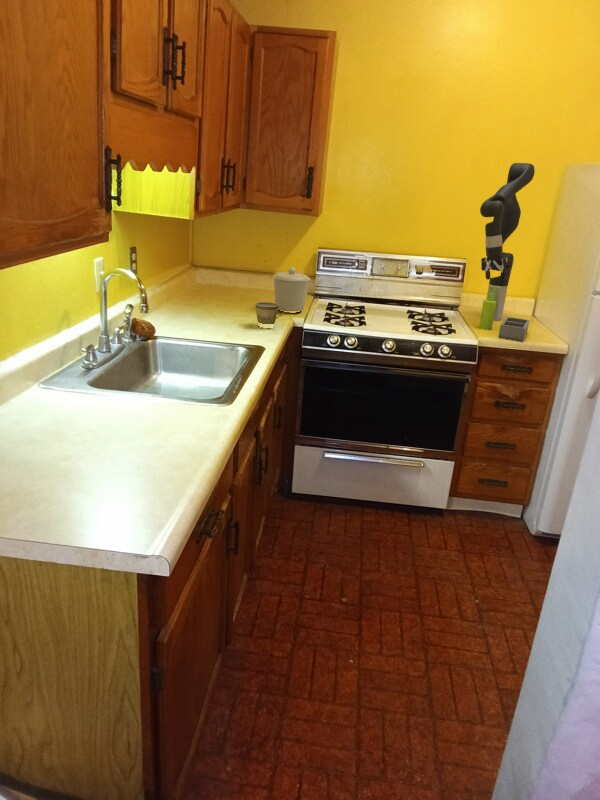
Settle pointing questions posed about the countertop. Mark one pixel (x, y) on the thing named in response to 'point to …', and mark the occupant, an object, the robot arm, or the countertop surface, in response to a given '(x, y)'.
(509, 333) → the caddy
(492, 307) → the soap dispenser
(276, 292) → the canister
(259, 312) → the ceramic cup
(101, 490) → the countertop surface
